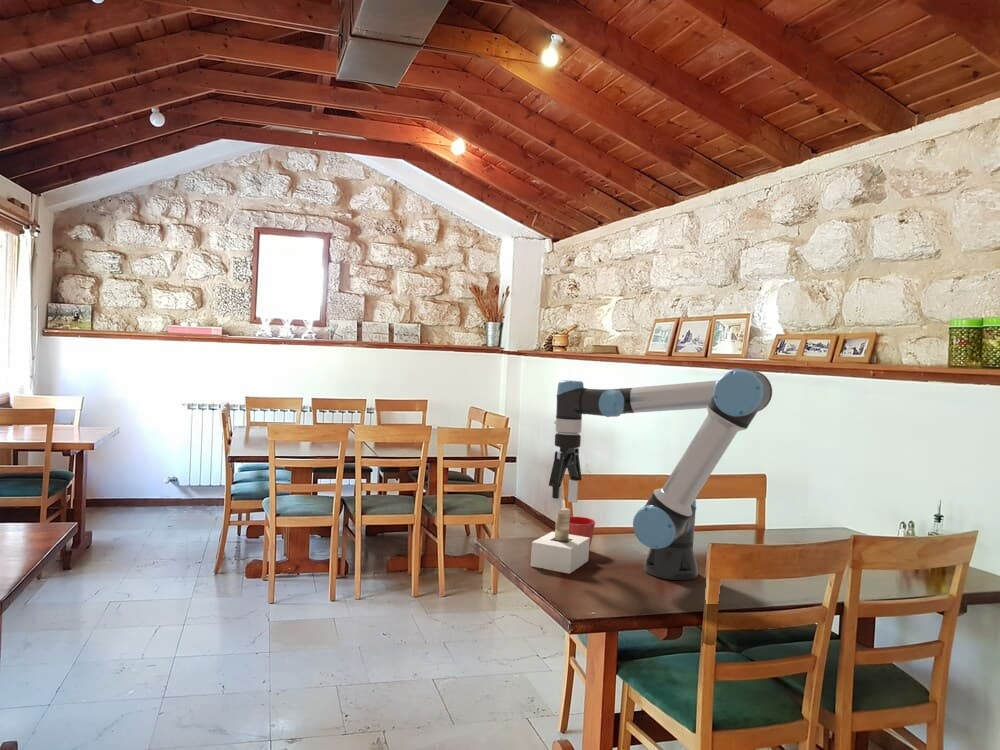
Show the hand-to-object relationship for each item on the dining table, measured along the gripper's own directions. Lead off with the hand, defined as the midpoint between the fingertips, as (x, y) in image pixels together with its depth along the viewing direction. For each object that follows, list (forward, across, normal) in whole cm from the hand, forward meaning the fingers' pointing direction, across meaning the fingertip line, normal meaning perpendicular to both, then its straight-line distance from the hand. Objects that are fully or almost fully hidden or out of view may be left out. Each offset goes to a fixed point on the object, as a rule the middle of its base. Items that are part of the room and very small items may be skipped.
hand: (564, 505), depth 219 cm
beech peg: (+15, 0, 0) cm, 15 cm away
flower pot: (+17, -17, -2) cm, 24 cm away
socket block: (+17, 0, 0) cm, 17 cm away
